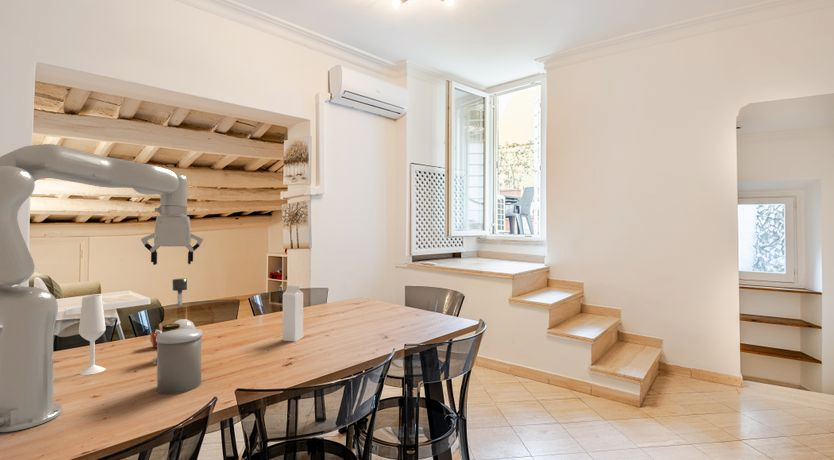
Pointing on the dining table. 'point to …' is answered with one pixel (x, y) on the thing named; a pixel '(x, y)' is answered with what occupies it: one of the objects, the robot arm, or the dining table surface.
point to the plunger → (179, 288)
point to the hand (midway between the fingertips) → (172, 264)
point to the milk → (292, 314)
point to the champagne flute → (92, 327)
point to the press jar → (178, 360)
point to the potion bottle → (182, 322)
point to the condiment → (168, 328)
